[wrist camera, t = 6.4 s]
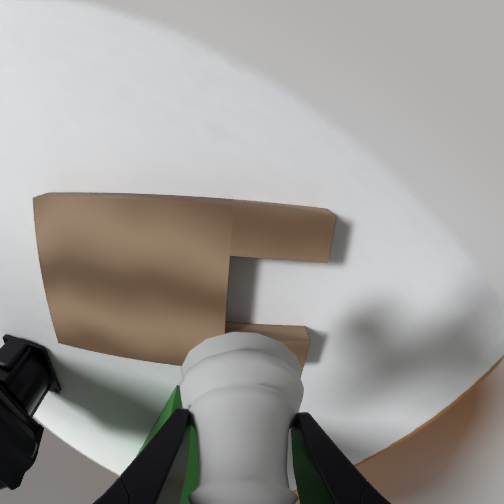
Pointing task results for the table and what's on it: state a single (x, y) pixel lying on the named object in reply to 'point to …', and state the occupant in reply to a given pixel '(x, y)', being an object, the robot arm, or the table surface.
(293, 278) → the table surface
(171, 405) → the green open box
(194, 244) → the notched board
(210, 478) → the rook chess piece
